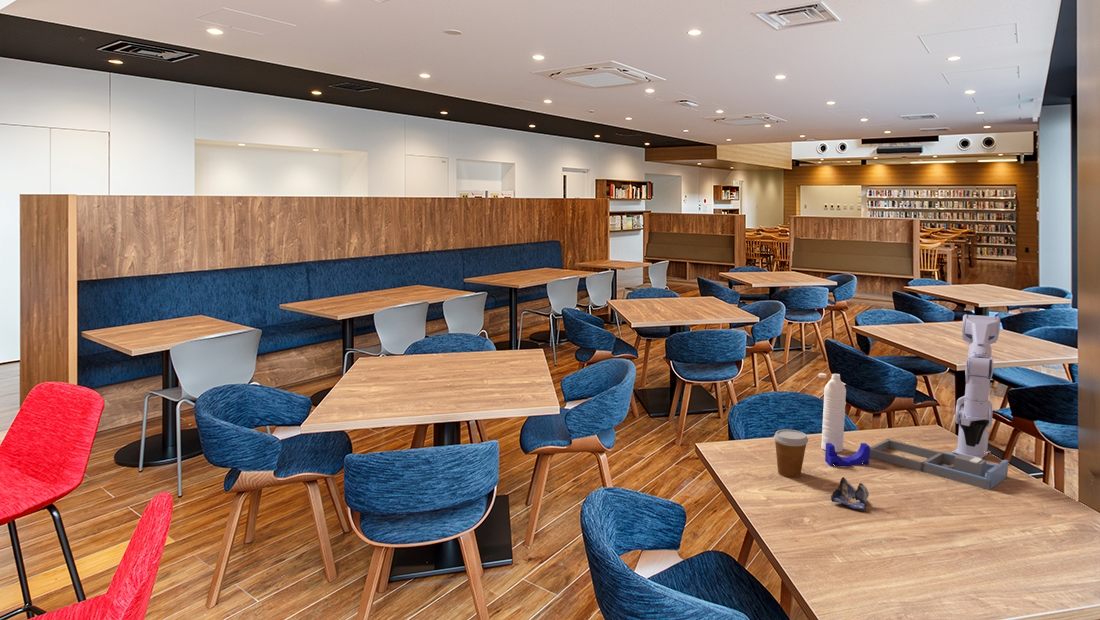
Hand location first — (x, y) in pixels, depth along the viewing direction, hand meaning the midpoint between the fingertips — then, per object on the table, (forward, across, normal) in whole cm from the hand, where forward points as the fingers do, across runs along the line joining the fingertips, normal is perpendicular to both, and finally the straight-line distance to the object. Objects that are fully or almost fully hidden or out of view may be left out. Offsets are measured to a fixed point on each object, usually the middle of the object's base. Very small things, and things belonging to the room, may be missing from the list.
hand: (972, 444), depth 193 cm
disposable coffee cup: (+10, +38, -35) cm, 52 cm away
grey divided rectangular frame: (+9, 0, -10) cm, 14 cm away
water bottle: (+10, +10, -38) cm, 40 cm away
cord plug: (+9, 0, -2) cm, 10 cm away
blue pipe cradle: (+10, +18, -28) cm, 34 cm away
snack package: (+10, +43, -13) cm, 46 cm away
